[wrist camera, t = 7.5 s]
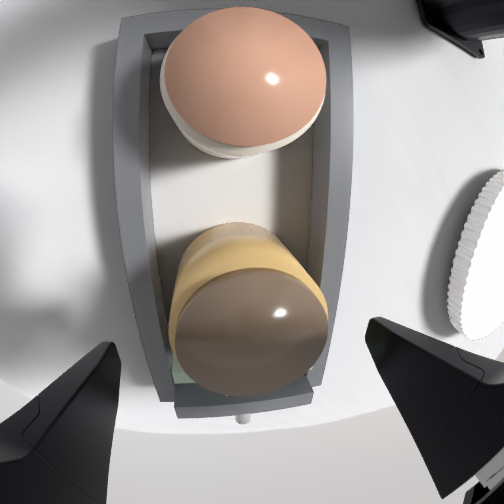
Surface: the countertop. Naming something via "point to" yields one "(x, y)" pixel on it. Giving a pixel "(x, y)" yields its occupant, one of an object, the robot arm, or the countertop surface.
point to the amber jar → (245, 312)
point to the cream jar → (242, 82)
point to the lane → (141, 217)
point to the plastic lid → (480, 266)
